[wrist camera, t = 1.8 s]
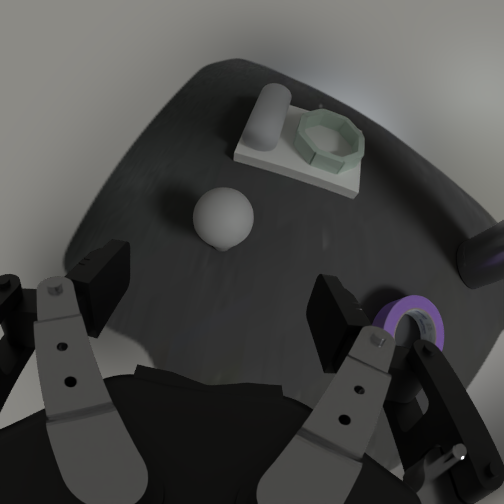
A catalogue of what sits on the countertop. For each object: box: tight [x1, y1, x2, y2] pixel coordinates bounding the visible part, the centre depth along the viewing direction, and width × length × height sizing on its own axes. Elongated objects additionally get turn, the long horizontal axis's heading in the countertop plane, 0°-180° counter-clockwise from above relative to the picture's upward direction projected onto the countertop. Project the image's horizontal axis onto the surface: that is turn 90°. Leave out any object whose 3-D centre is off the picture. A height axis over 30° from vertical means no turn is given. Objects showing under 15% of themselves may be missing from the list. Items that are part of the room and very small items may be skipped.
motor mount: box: [234, 83, 365, 199], centre depth 39 cm, size 19×14×7 cm
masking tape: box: [372, 295, 444, 352], centre depth 32 cm, size 12×12×4 cm
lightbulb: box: [193, 187, 254, 251], centre depth 30 cm, size 6×6×11 cm
